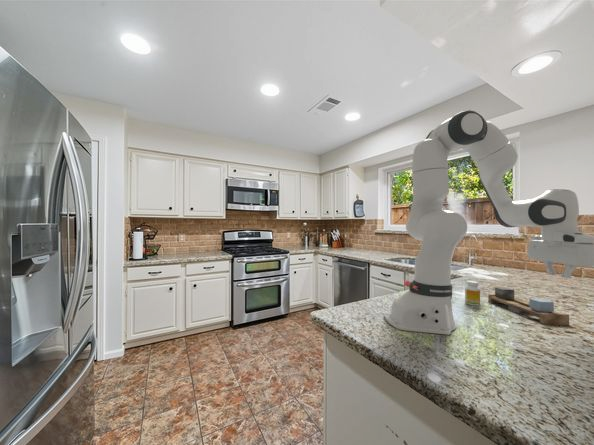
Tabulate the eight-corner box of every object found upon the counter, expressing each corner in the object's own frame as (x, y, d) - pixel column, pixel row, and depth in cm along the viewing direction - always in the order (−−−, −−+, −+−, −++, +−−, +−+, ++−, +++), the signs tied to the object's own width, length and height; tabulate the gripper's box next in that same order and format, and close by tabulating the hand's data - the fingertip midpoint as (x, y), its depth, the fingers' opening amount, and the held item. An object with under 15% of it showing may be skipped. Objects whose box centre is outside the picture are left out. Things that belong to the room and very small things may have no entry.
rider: (539, 314, 88) (539, 301, 88) (529, 310, 92) (529, 298, 92) (553, 314, 88) (553, 302, 88) (542, 310, 92) (542, 298, 92)
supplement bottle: (482, 306, 102) (482, 283, 103) (468, 305, 104) (468, 282, 104) (476, 302, 108) (476, 280, 108) (462, 301, 109) (462, 279, 109)
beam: (543, 324, 84) (543, 304, 84) (488, 301, 109) (488, 286, 109) (569, 324, 84) (569, 304, 84) (508, 302, 109) (508, 286, 109)
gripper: (522, 234, 94) (522, 270, 94) (584, 237, 74) (583, 282, 74) (538, 235, 94) (538, 270, 94) (605, 238, 74) (604, 283, 74)
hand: (558, 276), depth 84 cm, fingers open, 3 cm apart
